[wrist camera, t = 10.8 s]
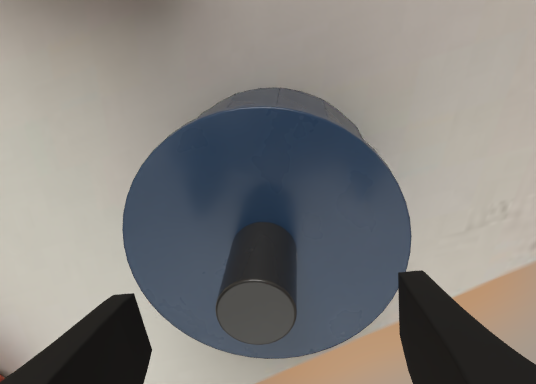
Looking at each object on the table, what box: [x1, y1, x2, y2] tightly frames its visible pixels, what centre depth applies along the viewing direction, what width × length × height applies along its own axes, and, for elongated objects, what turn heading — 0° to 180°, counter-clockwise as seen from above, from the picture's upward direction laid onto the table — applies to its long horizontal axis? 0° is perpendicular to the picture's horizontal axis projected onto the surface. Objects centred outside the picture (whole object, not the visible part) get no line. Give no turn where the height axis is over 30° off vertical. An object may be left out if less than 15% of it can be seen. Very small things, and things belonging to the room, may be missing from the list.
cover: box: [123, 104, 411, 359], centre depth 15 cm, size 11×11×5 cm
